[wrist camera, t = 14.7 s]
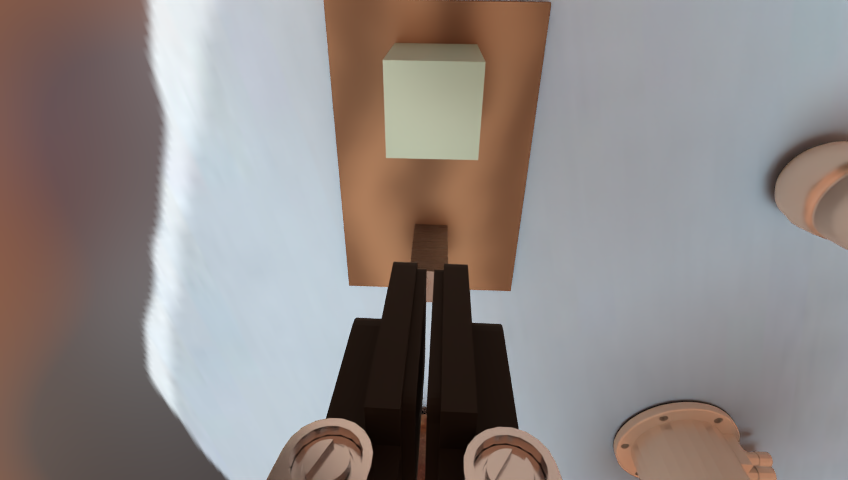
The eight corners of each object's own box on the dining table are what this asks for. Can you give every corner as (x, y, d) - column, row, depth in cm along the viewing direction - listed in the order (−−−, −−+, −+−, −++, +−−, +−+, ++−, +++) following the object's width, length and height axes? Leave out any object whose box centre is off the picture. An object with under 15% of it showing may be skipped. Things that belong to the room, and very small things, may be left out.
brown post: (447, 225, 35) (448, 271, 30) (446, 252, 37) (446, 302, 31) (414, 224, 35) (409, 270, 30) (414, 251, 37) (409, 301, 31)
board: (548, 1, 28) (551, 2, 27) (509, 285, 39) (510, 290, 38) (326, -2, 28) (323, -2, 28) (350, 280, 40) (349, 285, 39)
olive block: (477, 44, 28) (485, 61, 22) (471, 125, 31) (478, 160, 25) (394, 42, 28) (382, 60, 23) (396, 124, 31) (386, 157, 25)
